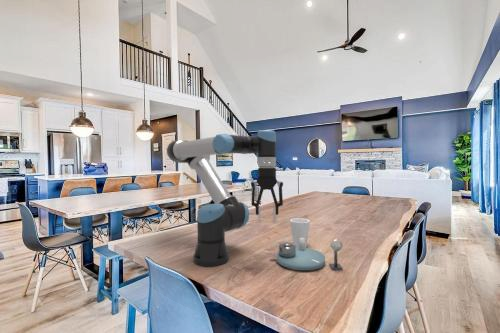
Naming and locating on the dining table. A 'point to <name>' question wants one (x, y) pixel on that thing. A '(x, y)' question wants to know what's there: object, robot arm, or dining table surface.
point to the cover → (287, 250)
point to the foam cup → (299, 230)
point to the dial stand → (336, 246)
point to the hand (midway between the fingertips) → (267, 222)
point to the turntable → (303, 258)
